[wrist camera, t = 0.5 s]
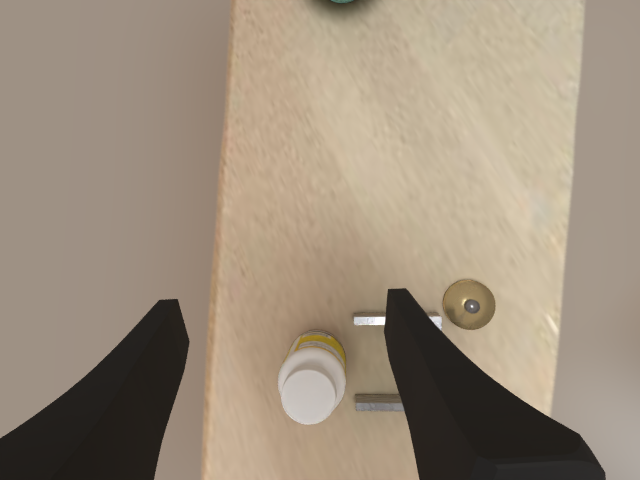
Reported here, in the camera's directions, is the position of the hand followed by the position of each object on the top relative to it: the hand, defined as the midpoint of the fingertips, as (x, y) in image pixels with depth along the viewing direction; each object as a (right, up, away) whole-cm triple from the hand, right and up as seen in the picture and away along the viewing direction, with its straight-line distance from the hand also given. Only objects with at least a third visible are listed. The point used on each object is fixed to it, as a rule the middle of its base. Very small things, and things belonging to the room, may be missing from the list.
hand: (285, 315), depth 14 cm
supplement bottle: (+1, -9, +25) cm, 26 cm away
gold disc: (+15, -3, +23) cm, 28 cm away
